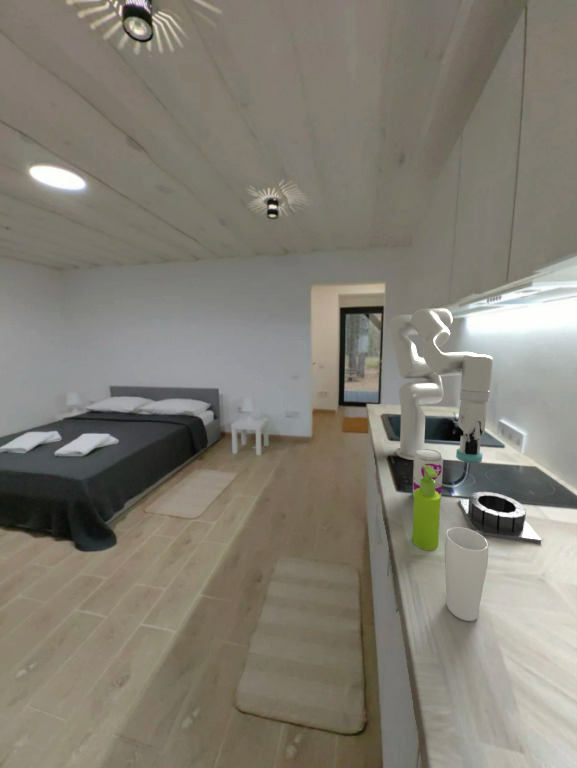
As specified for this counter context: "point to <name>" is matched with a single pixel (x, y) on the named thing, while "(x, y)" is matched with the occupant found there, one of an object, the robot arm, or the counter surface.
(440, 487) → the supplement can
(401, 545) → the counter surface
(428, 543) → the soap dispenser
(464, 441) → the cap
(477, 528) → the segmented ring on plate
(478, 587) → the drinking glass
